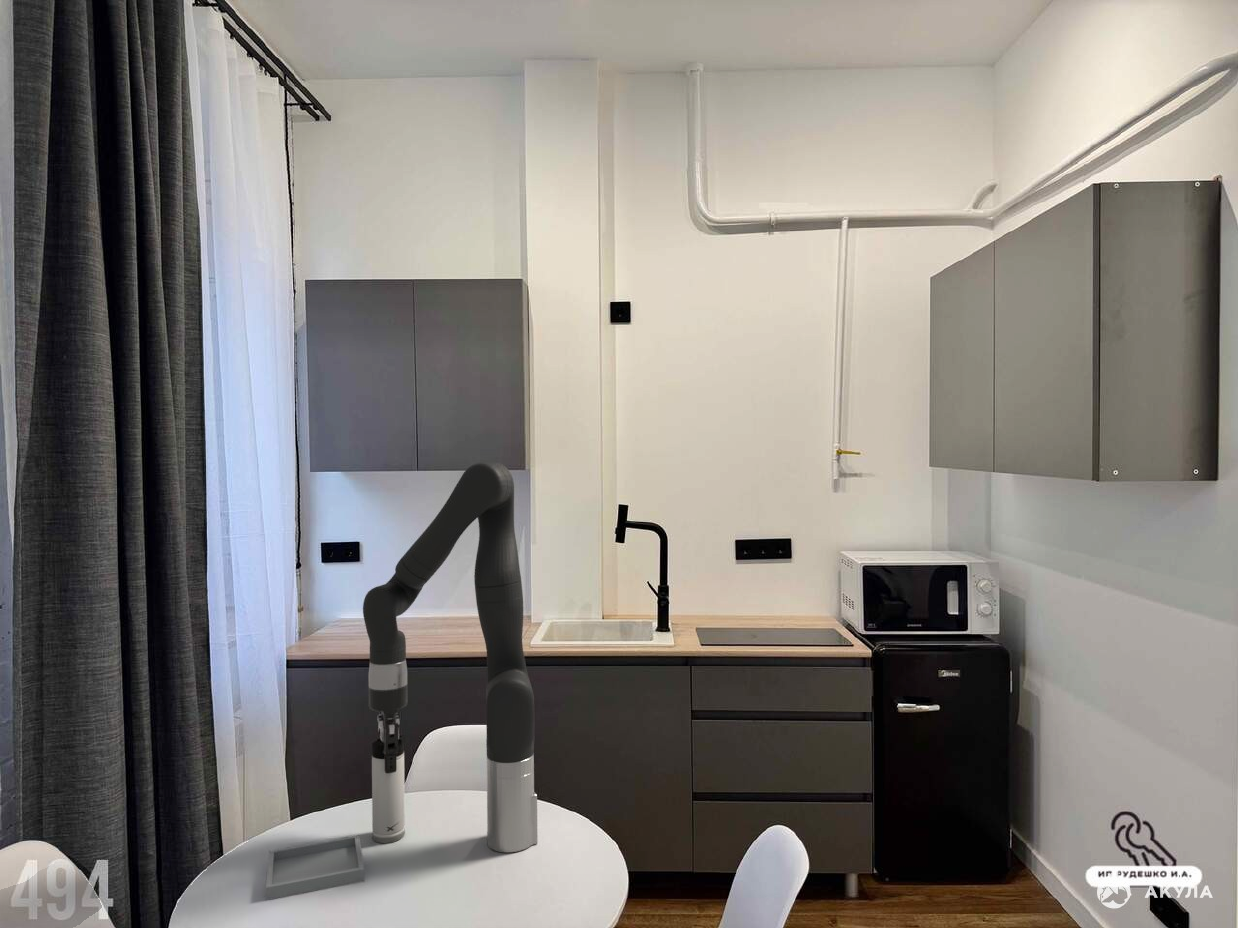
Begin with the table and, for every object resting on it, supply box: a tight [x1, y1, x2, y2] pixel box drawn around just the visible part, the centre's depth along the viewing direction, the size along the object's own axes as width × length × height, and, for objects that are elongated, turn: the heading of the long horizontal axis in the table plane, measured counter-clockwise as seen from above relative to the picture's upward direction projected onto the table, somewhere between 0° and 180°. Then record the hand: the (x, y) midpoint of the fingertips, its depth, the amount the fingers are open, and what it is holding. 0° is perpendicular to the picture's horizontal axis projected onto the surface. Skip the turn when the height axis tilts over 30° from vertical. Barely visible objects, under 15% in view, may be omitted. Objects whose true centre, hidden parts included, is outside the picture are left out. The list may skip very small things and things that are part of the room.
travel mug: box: [371, 734, 406, 844], centre depth 158 cm, size 6×7×20 cm
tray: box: [265, 834, 365, 901], centre depth 144 cm, size 16×14×2 cm
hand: (388, 765), depth 158 cm, fingers closed on travel mug, 6 cm apart
